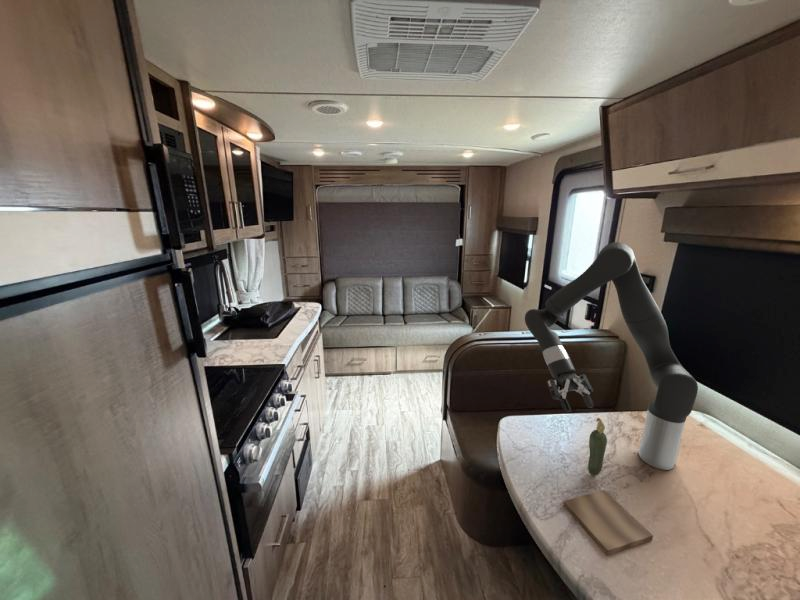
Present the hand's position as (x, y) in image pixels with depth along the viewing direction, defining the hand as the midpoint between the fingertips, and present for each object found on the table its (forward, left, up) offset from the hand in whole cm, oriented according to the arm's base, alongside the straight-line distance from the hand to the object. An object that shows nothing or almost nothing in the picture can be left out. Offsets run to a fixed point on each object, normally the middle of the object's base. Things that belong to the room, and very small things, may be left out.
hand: (580, 409), depth 99 cm
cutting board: (+9, +21, -19) cm, 29 cm away
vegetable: (0, +8, -19) cm, 20 cm away
